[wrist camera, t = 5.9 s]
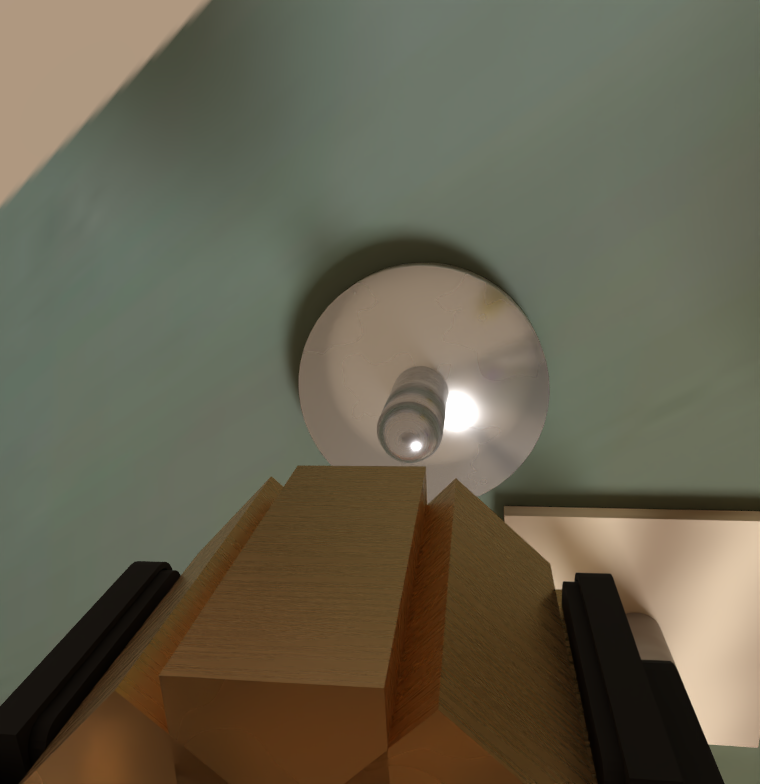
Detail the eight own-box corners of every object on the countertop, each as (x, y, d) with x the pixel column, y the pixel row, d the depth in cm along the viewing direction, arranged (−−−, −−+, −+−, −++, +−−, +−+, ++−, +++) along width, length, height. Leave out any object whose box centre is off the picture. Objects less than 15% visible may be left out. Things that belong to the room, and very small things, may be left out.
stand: (780, 511, 24) (910, 651, 17) (750, 732, 27) (850, 933, 20) (503, 506, 26) (513, 632, 19) (503, 715, 29) (510, 897, 21)
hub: (549, 257, 23) (573, 280, 17) (543, 495, 26) (562, 585, 20) (297, 266, 24) (239, 291, 19) (315, 491, 27) (270, 574, 21)
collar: (565, 467, 10) (640, 702, 6) (556, 795, 12) (607, 1186, 7) (173, 465, 11) (-50, 664, 6) (219, 768, 13) (69, 1101, 8)
